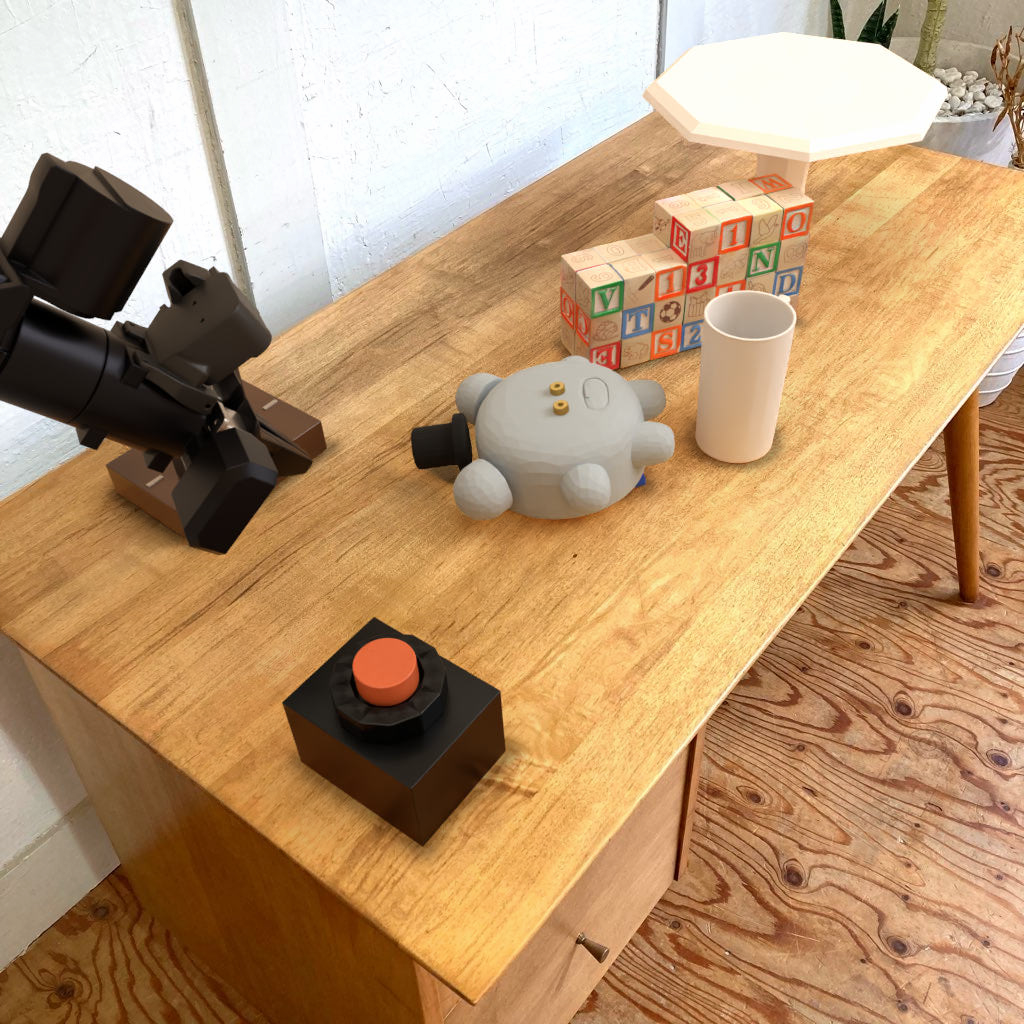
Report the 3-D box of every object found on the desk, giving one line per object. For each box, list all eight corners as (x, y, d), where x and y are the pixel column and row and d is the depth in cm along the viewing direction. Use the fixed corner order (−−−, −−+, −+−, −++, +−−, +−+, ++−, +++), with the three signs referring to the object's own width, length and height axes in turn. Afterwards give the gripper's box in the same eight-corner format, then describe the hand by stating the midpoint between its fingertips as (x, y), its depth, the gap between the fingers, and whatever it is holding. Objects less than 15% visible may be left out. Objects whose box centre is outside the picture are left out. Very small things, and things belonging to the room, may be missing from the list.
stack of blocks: (588, 380, 93) (589, 255, 84) (559, 343, 97) (558, 221, 89) (796, 321, 98) (816, 199, 90) (760, 289, 102) (776, 169, 94)
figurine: (659, 395, 90) (430, 426, 92) (653, 311, 84) (409, 345, 86) (688, 537, 77) (422, 570, 79) (684, 450, 72) (397, 487, 73)
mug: (746, 477, 83) (765, 351, 74) (675, 444, 86) (686, 319, 78) (811, 415, 88) (835, 290, 80) (741, 385, 91) (758, 263, 83)
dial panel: (208, 553, 79) (197, 523, 77) (104, 484, 85) (92, 455, 83) (340, 456, 87) (334, 426, 85) (236, 399, 93) (228, 370, 91)
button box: (300, 762, 65) (275, 683, 60) (386, 677, 70) (369, 597, 64) (422, 847, 61) (407, 770, 55) (506, 751, 65) (499, 671, 60)
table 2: (637, 181, 120) (643, 29, 109) (889, 181, 117) (923, 25, 106) (634, 316, 100) (641, 147, 89) (938, 320, 97) (986, 146, 86)
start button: (343, 687, 60) (338, 668, 59) (385, 647, 62) (381, 627, 61) (390, 717, 58) (386, 698, 57) (432, 675, 60) (429, 655, 59)
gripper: (195, 345, 49) (434, 453, 60) (125, 186, 62) (332, 299, 73) (79, 519, 53) (325, 592, 63) (34, 335, 65) (246, 422, 76)
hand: (307, 464), depth 69 cm, fingers closed
